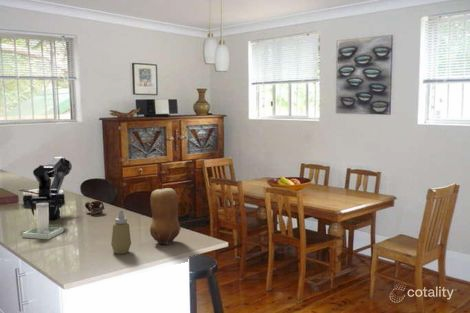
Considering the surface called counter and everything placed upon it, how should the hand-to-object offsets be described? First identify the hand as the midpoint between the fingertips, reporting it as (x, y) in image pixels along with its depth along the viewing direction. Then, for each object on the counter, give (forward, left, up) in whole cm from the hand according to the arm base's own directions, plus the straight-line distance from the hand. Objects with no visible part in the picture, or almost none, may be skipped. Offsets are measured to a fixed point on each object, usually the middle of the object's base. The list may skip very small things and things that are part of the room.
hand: (43, 214), depth 215 cm
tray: (+5, -8, -8) cm, 12 cm away
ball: (+8, -11, -7) cm, 16 cm away
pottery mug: (+7, +38, -8) cm, 40 cm away
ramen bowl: (-33, +53, -8) cm, 63 cm away
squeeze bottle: (+49, -22, -8) cm, 54 cm away
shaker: (+4, -7, -7) cm, 11 cm away
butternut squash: (+63, -6, -8) cm, 63 cm away
